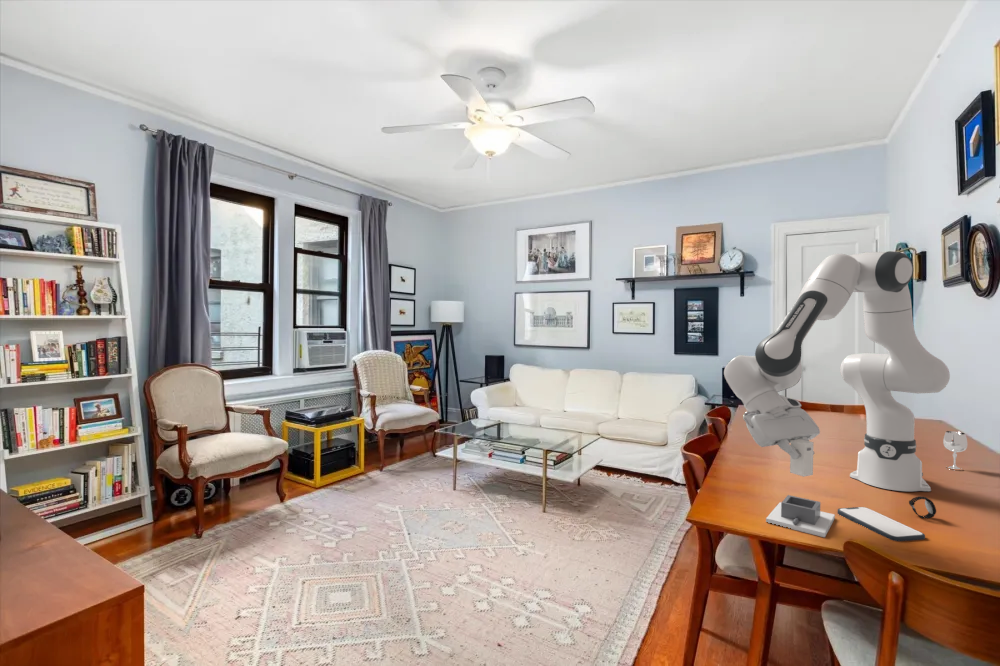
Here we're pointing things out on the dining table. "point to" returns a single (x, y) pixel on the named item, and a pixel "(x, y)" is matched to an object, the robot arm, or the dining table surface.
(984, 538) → the dining table surface
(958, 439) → the wineglass
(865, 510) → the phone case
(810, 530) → the dock
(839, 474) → the dining table surface
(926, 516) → the smartwatch
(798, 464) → the block
